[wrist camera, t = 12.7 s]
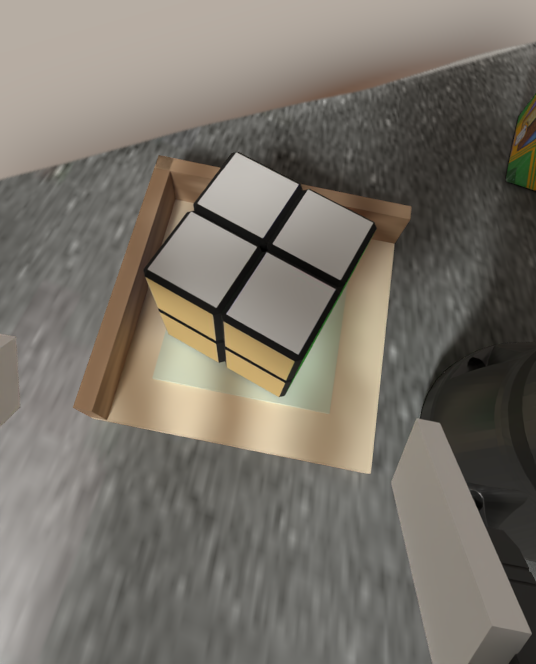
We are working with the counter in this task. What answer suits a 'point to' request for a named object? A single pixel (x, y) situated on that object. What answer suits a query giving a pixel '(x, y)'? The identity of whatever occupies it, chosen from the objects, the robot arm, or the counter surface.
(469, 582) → the robot arm
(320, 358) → the walled corner board
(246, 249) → the puzzle cube
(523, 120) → the chalk box
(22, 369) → the counter surface
